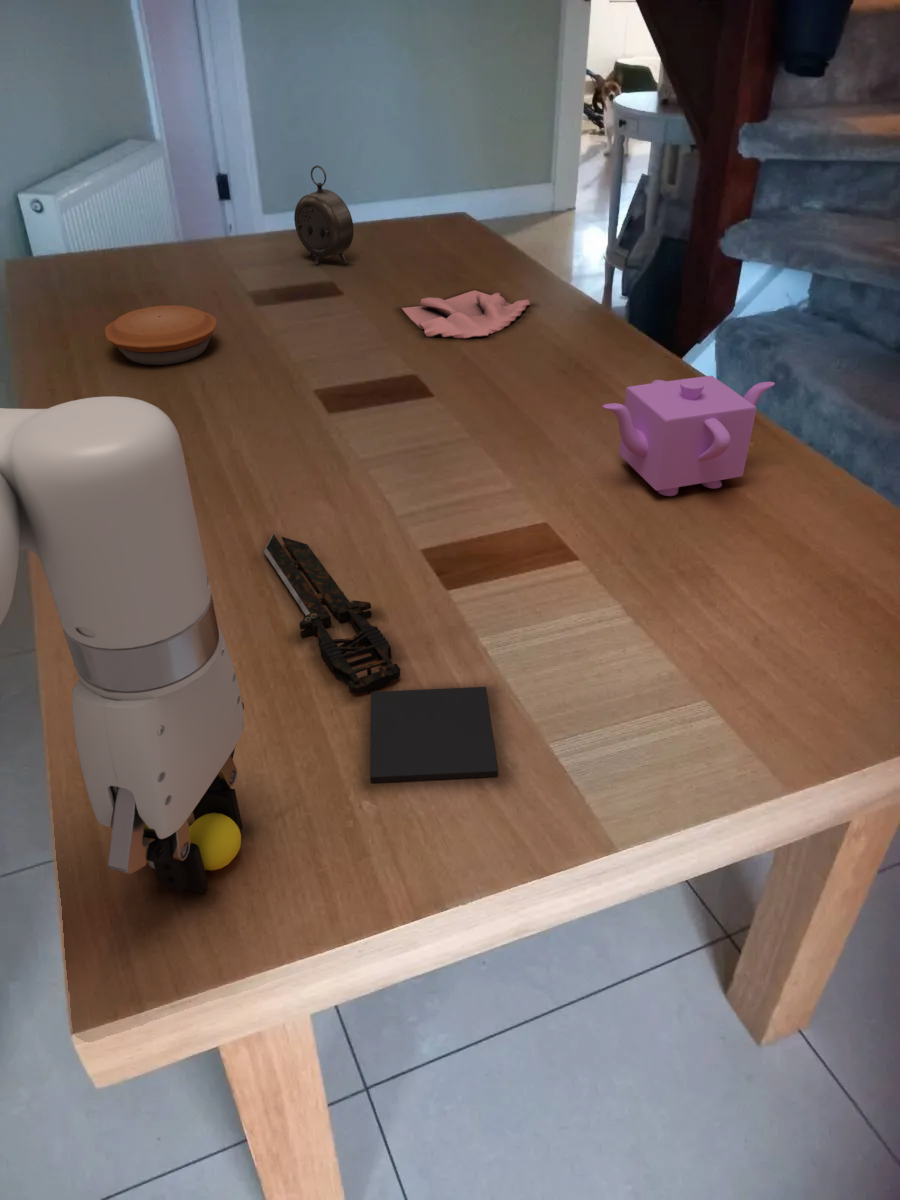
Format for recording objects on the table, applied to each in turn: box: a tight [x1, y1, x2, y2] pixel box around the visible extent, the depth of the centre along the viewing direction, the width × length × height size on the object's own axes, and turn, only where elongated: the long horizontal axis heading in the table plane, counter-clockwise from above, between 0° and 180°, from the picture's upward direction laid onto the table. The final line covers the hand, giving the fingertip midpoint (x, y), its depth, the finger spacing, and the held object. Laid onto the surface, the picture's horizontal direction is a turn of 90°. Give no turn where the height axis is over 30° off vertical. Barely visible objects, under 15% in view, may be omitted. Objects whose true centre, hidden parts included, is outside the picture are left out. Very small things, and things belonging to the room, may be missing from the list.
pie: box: [104, 304, 218, 366], centre depth 131 cm, size 15×16×5 cm
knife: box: [263, 533, 401, 696], centre depth 81 cm, size 25×6×1 cm, turn 22°
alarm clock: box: [293, 165, 355, 266], centre depth 163 cm, size 11×5×16 cm, turn 53°
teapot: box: [601, 375, 776, 497], centre depth 98 cm, size 15×13×11 cm
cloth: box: [401, 290, 531, 340], centre depth 143 cm, size 20×22×2 cm
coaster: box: [369, 686, 499, 783], centre depth 68 cm, size 9×9×1 cm
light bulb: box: [148, 813, 242, 871], centre depth 58 cm, size 3×6×4 cm, turn 107°
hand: (202, 853), depth 59 cm, fingers closed on light bulb, 3 cm apart
